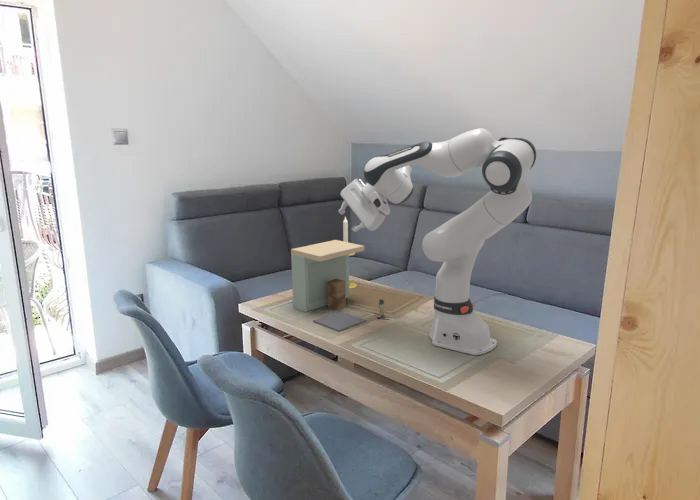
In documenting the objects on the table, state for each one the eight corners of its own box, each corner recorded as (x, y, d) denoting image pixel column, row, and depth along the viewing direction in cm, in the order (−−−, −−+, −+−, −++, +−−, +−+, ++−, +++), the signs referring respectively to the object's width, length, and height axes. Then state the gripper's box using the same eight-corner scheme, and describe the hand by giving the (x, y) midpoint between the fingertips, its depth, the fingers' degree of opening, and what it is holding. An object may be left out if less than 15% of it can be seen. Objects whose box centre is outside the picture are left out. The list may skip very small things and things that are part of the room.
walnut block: (345, 306, 201) (345, 280, 198) (337, 310, 197) (337, 283, 194) (336, 304, 204) (335, 278, 201) (328, 307, 200) (327, 281, 197)
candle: (361, 284, 230) (360, 215, 223) (349, 290, 222) (348, 218, 214) (342, 281, 235) (342, 213, 228) (331, 286, 227) (329, 216, 219)
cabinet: (364, 302, 206) (364, 245, 200) (321, 317, 189) (319, 256, 184) (336, 293, 217) (335, 239, 212) (293, 307, 201) (291, 249, 195)
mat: (366, 321, 185) (366, 319, 185) (339, 331, 175) (339, 330, 175) (340, 312, 195) (340, 310, 195) (312, 321, 185) (312, 320, 185)
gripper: (353, 173, 178) (327, 200, 182) (385, 210, 168) (356, 238, 171) (362, 179, 183) (336, 205, 187) (393, 215, 173) (365, 242, 176)
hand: (346, 221), depth 179 cm, fingers open, 8 cm apart
